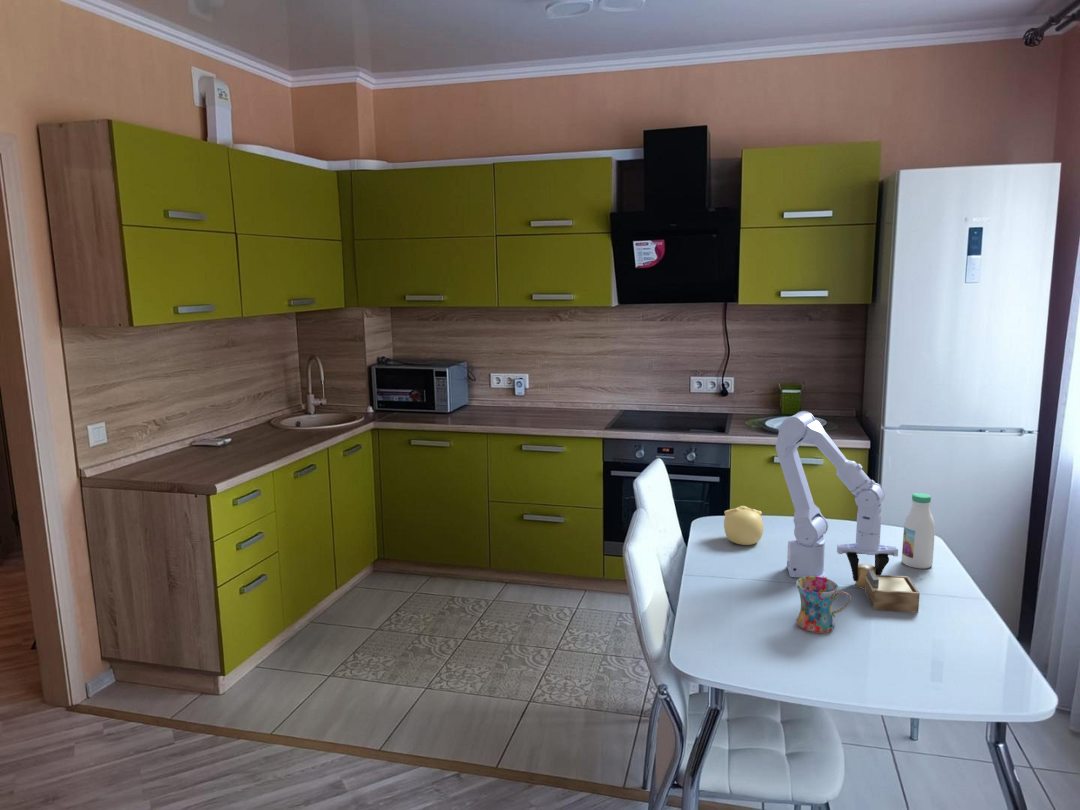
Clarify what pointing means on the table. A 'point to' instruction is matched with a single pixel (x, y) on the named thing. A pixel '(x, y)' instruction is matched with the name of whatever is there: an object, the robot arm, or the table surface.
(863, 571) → the roll-on deodorant
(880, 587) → the lid
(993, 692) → the table surface
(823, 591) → the mug
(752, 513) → the pale yellow round lump
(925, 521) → the milk bottle
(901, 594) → the wooden box
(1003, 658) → the table surface
